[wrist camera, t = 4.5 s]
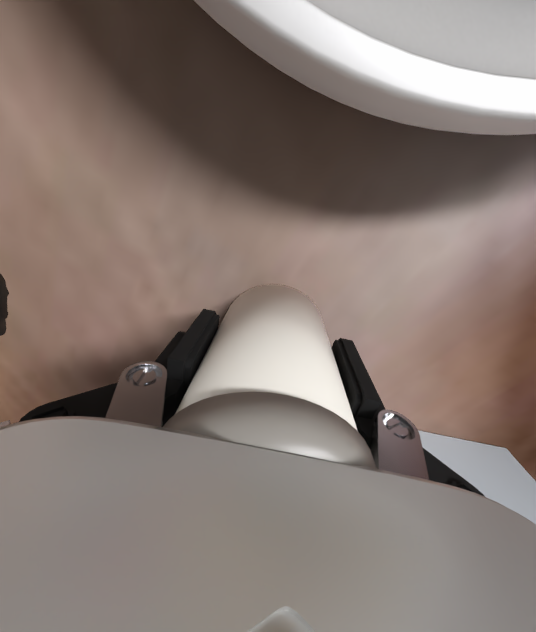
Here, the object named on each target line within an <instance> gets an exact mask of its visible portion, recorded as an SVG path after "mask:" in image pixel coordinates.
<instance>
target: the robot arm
mask: <svg viewBox="0 0 536 632" xmlns="http://www.w3.org/2000/svg"><path fill="white" fill-rule="evenodd" d="M218 323H219V315H216V312H215V311H211V310H206V309H203V310H202V312H201V313H200V314H199V316H198V317H197V319H196V320H195V321H194V323H193V324H192V325H191V327H190V328H189V329H188V331H187V332H181V331H180V332H178V333H177V334H176V336H175V337H174V338H173V339H172V341H171V342H170V343H169V344H168V346H167V347H166V348H165V349H164V351H163V352H162V353H161V354H160V356H159V357H158V358H157V359H156V361H155V362H151V361H145V362H138V363H135V364H132V365H130V366H128V367H127V368H126V369H125V370H123V372H122V374H121V375H120V378H119V381H118V383H115V384H111V385H108V386H105V387H101V388H98V389H95V390H91V391H88V392H84V393H81V394H78V395H74V396H71V397H68V398H64V399H61V400H57V401H54V402H51V403H47V404H45V405H42V406H39V407H37V408H35V409H34V410H32V411H30V412H29V413H27V414H26V415H25V416H24V417H23V418H21V420H20V421H19V422H17V423H14V424H11V423H10V420H9V421H5V422H1V423H0V632H536V524H534V523H533V522H531V521H530V520H528V519H527V518H525V517H523V516H522V515H520V514H519V513H517V512H515V511H513V510H511V509H509V508H507V507H505V506H503V505H501V504H500V503H498V502H496V501H493V500H491V499H489V498H486V497H485V496H484V495H483V494H482V493H481V492H480V491H479V490H478V489H477V488H476V487H474V486H473V485H472V484H470V483H469V482H468V481H466V480H465V479H464V478H462V477H461V476H460V475H458V474H457V473H456V472H454V471H453V470H452V469H451V468H449V467H448V466H447V465H445V464H444V463H443V462H441V461H440V460H439V459H437V458H436V457H435V456H433V455H432V454H431V453H429V452H428V451H427V450H425V449H424V448H423V447H422V443H421V438H420V434H419V432H418V430H417V428H416V427H415V425H414V424H413V423H412V422H411V421H410V420H409V419H407V418H406V417H405V416H403V415H402V414H400V413H398V412H395V411H392V410H385V407H384V405H383V403H382V401H381V399H380V397H379V395H378V393H377V391H376V389H375V387H374V385H373V382H372V380H371V378H370V376H369V374H368V372H367V370H366V368H365V366H364V364H363V362H362V360H361V358H360V356H359V353H358V351H357V349H356V347H355V345H354V343H353V341H351V340H347V339H342V338H340V339H339V340H335V341H334V343H333V346H332V351H333V355H334V358H335V361H336V364H337V367H338V370H339V374H340V377H341V380H342V383H343V386H344V389H345V392H346V396H347V399H348V402H349V405H350V408H351V411H352V414H353V418H354V421H355V424H356V427H357V430H358V432H359V434H360V435H361V436H362V437H363V438H364V440H365V441H366V443H367V445H368V447H369V448H370V451H371V454H372V457H373V460H374V462H375V465H376V468H377V469H375V468H370V467H365V466H357V465H349V464H341V463H336V462H330V461H325V460H320V459H315V458H310V457H305V456H300V455H295V454H289V453H284V452H279V451H274V450H269V449H264V448H258V447H253V446H248V445H243V444H238V443H233V442H228V441H224V440H220V439H216V438H212V437H208V436H204V435H200V434H196V433H190V432H185V431H180V430H174V429H169V428H163V426H164V425H165V423H166V422H167V421H168V420H169V419H170V418H171V417H172V416H174V415H175V413H176V411H177V409H178V407H179V405H180V403H181V401H182V399H183V397H184V395H185V393H186V391H187V389H188V388H189V386H190V384H191V382H192V380H193V378H194V376H195V374H196V372H197V370H198V368H199V366H200V364H201V362H202V360H203V358H204V356H205V354H206V352H207V350H208V348H209V346H210V344H211V342H212V340H213V338H214V336H215V334H216V332H217V330H218Z"/></svg>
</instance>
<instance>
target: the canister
mask: <svg viewBox="0 0 536 632" xmlns="http://www.w3.org/2000/svg"><path fill="white" fill-rule="evenodd" d="M163 428H169V429H174V430H180V431H185V432H190V433H196V434H200V435H204V436H208V437H212V438H216V439H220V440H224V441H228V442H233V443H238V444H243V445H248V446H253V447H258V448H264V449H269V450H274V451H279V452H284V453H289V454H295V455H300V456H305V457H310V458H315V459H320V460H325V461H330V462H336V463H341V464H349V465H357V466H365V467H370V468H375V469H377V468H376V465H375V462H374V460H373V457H372V454H371V451H370V448H369V447H368V445H367V443H366V441H365V440H364V438H363V437H362V436H361V435H360V434H359V432H358V430H357V427H356V424H355V421H354V418H353V414H352V411H351V408H350V405H349V402H348V399H347V396H346V392H345V389H344V386H343V383H342V380H341V377H340V374H339V370H338V367H337V364H336V361H335V358H334V355H333V351H332V348H331V345H330V342H329V339H328V336H327V333H326V329H325V326H324V323H323V320H322V317H321V314H320V312H319V310H318V308H317V307H316V305H315V304H314V303H313V301H312V300H311V299H310V298H309V297H307V296H306V295H305V294H303V293H302V292H300V291H298V290H296V289H294V288H292V287H288V286H284V285H278V284H268V285H261V286H257V287H254V288H251V289H249V290H247V291H245V292H244V293H242V294H241V295H240V296H238V297H237V298H236V299H235V300H234V301H233V303H232V304H231V305H230V307H229V309H228V311H227V313H226V315H225V317H224V319H223V321H222V322H221V324H220V326H219V328H218V330H217V332H216V334H215V336H214V338H213V340H212V342H211V344H210V346H209V348H208V350H207V352H206V354H205V356H204V358H203V360H202V362H201V364H200V366H199V368H198V370H197V372H196V374H195V376H194V378H193V380H192V382H191V384H190V386H189V388H188V389H187V391H186V393H185V395H184V397H183V399H182V401H181V403H180V405H179V407H178V409H177V411H176V413H175V415H174V416H172V417H171V418H170V419H169V420H168V421H167V422H166V423H165V425H164V426H163Z"/></svg>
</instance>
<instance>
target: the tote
mask: <svg viewBox="0 0 536 632" xmlns="http://www.w3.org/2000/svg"><path fill="white" fill-rule="evenodd" d="M418 432H419V434H420V438H421V443H422V447H423V448H424V449H425V450H427V451H428V452H429V453H431V454H432V455H433V456H435V457H436V458H437V459H439V460H440V461H441V462H443V463H444V464H445V465H447V466H448V467H449V468H451V469H452V470H453V471H454V472H456V473H457V474H458V475H460V476H461V477H462V478H464V479H465V480H466V481H468V482H469V483H470V484H472V485H473V486H474V487H476V488H477V489H478V490H479V491H480V492H481V493H482V494H483V495H484V496H485V497H486V498H489V499H491V500H493V501H496V502H498V503H500V504H501V505H503V506H505V507H507V508H509V509H511V510H513V511H515V512H517V513H519V514H520V515H522V516H523V517H525V518H527V519H528V520H530V521H531V522H533V523H534V524H536V481H535V480H534V479H533V478H532V477H531V476H530V475H529V473H528V472H527V471H526V470H525V469H524V468H523V467H522V466H521V464H520V463H519V462H518V461H517V460H516V459H515V458H514V457H513V455H512V454H511V453H510V452H509V451H508V450H507V449H506V448H502V447H497V446H492V445H488V444H483V443H478V442H473V441H468V440H463V439H458V438H453V437H448V436H443V435H438V434H433V433H428V432H423V431H418Z"/></svg>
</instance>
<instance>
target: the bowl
mask: <svg viewBox="0 0 536 632" xmlns="http://www.w3.org/2000/svg"><path fill="white" fill-rule="evenodd" d="M194 1H195V2H196V3H197V4H198V5H199V6H200V7H201V8H202V9H203V10H204V11H205V12H206V13H207V14H208V15H210V16H211V17H212V18H213V19H214V20H215V21H216V22H217V23H218V24H219V25H220V26H222V27H223V28H224V29H225V30H227V31H228V32H229V33H230V34H231V35H233V36H234V37H235V38H236V39H238V40H239V41H240V42H241V43H242V44H244V45H245V46H246V47H247V48H249V49H250V50H251V51H253V52H254V53H256V54H257V55H258V56H260V57H261V58H263V59H264V60H266V61H267V62H268V63H270V64H271V65H273V66H274V67H276V68H277V69H278V70H280V71H282V72H283V73H285V74H287V75H288V76H290V77H292V78H293V79H295V80H297V81H299V82H300V83H302V84H304V85H305V86H307V87H309V88H310V89H313V90H315V91H317V92H319V93H321V94H323V95H325V96H327V97H329V98H331V99H333V100H335V101H337V102H339V103H342V104H344V105H347V106H350V107H352V108H355V109H358V110H360V111H363V112H365V113H368V114H371V115H374V116H378V117H381V118H384V119H388V120H391V121H395V122H398V123H402V124H407V125H412V126H417V127H422V128H427V129H432V130H441V131H450V132H459V133H468V134H486V135H524V134H536V0H194Z"/></svg>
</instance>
